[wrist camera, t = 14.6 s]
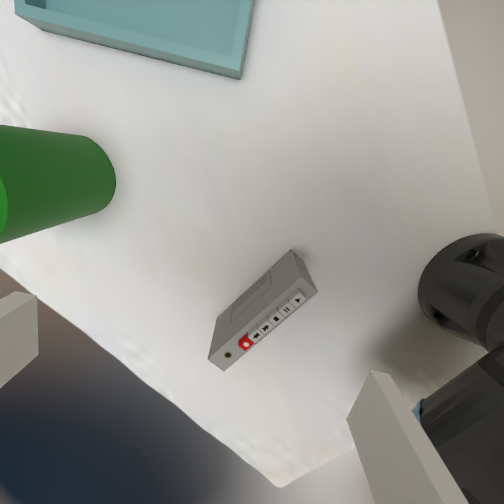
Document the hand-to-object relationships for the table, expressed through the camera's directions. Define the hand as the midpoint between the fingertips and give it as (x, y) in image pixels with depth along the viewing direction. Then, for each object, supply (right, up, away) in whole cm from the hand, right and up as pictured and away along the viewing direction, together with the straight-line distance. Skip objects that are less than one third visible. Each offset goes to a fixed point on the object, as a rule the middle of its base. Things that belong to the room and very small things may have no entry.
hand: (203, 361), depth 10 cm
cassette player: (+3, -1, +29) cm, 29 cm away
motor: (-20, +14, +24) cm, 34 cm away
